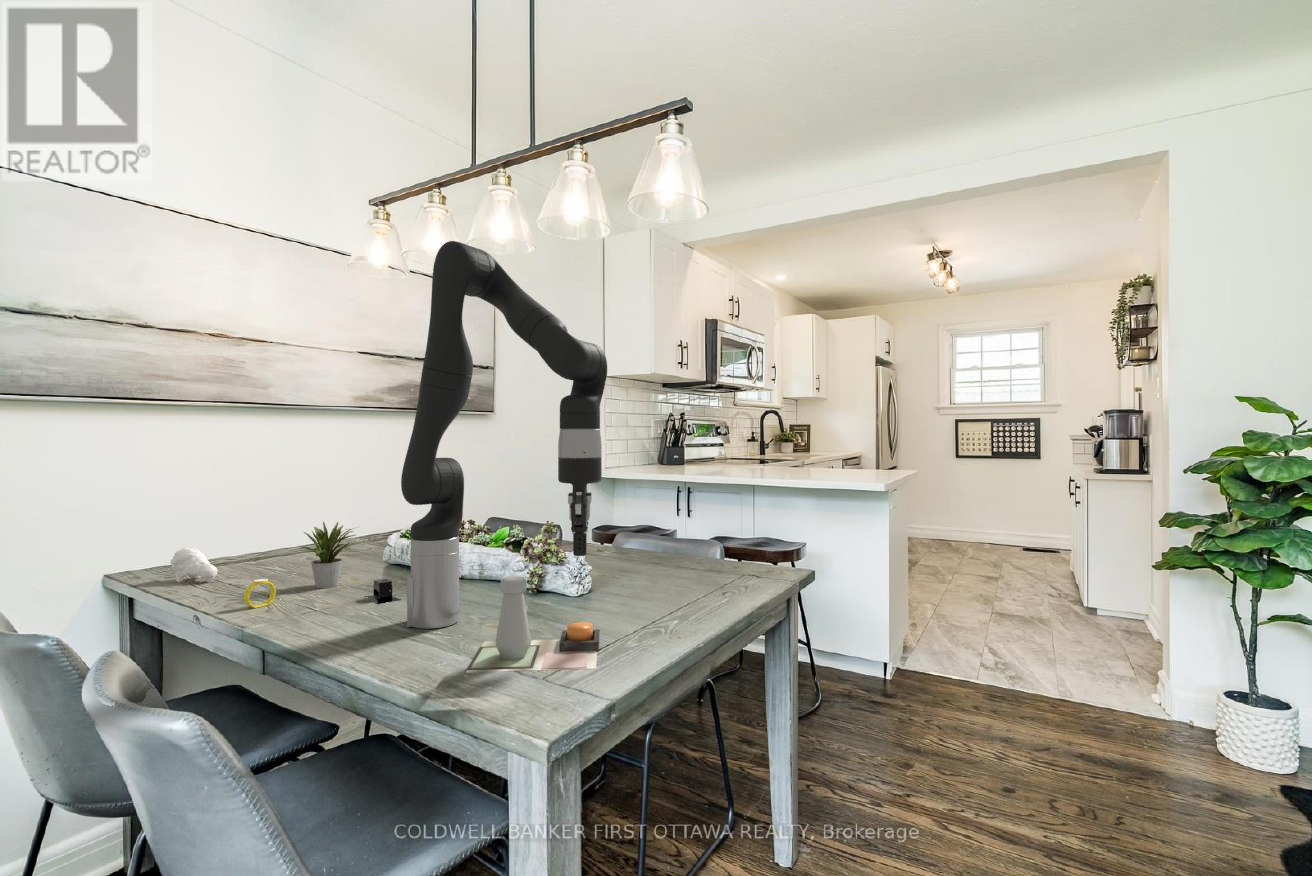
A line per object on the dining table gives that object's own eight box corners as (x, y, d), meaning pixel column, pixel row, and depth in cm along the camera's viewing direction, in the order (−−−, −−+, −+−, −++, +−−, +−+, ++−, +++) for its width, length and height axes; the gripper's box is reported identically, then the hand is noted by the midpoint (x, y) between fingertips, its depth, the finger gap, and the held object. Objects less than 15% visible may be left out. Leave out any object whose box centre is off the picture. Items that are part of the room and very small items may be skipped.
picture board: (457, 683, 91) (457, 665, 91) (479, 646, 107) (479, 631, 107) (602, 678, 93) (602, 661, 93) (603, 643, 109) (603, 628, 109)
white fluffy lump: (193, 544, 161) (227, 550, 158) (191, 575, 161) (225, 583, 158) (168, 548, 155) (203, 555, 152) (166, 581, 155) (200, 588, 152)
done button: (566, 641, 102) (566, 630, 102) (568, 633, 107) (568, 622, 107) (592, 641, 103) (592, 629, 103) (593, 632, 107) (593, 621, 107)
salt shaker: (523, 663, 96) (523, 582, 96) (489, 661, 97) (489, 581, 97) (536, 650, 102) (536, 574, 101) (504, 648, 102) (504, 572, 102)
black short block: (408, 602, 138) (408, 582, 138) (374, 609, 133) (374, 588, 133) (389, 592, 147) (389, 573, 147) (357, 598, 142) (357, 578, 142)
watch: (269, 603, 136) (271, 577, 136) (277, 605, 135) (278, 578, 135) (241, 608, 131) (243, 581, 131) (248, 610, 129) (250, 582, 130)
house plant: (353, 591, 146) (353, 524, 146) (288, 595, 142) (288, 526, 142) (364, 578, 159) (364, 516, 159) (305, 581, 155) (305, 518, 155)
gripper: (601, 456, 98) (601, 562, 98) (601, 454, 112) (601, 547, 112) (554, 456, 98) (554, 563, 98) (561, 454, 111) (561, 547, 111)
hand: (580, 554), depth 105 cm, fingers closed
